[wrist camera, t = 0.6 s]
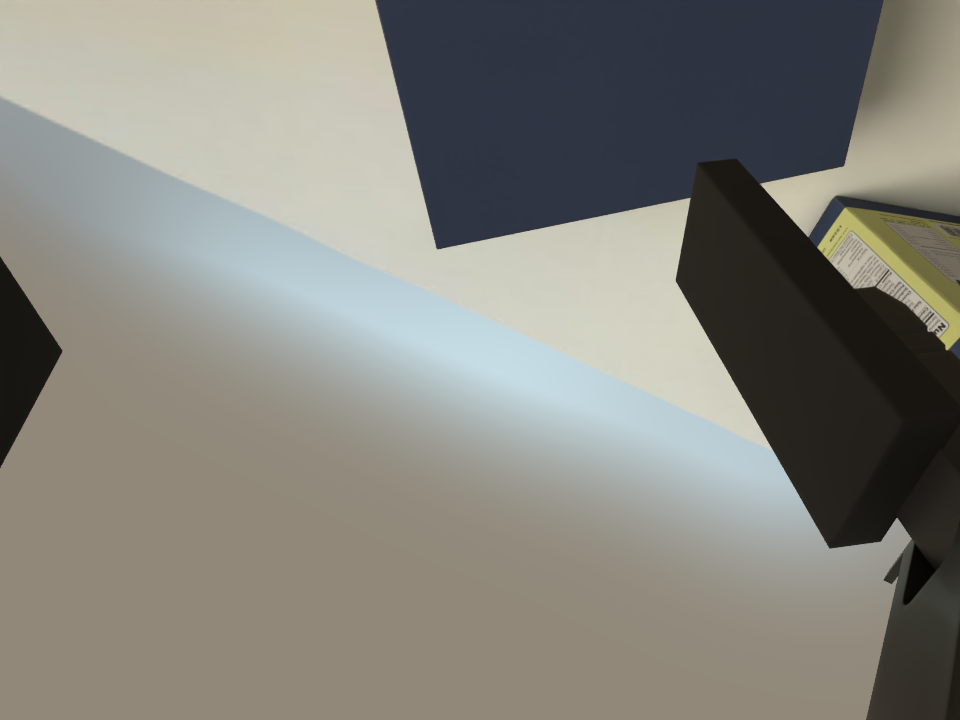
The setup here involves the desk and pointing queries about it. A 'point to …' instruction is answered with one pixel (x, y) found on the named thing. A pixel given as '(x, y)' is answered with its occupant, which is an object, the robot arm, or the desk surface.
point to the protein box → (898, 257)
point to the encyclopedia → (616, 100)
